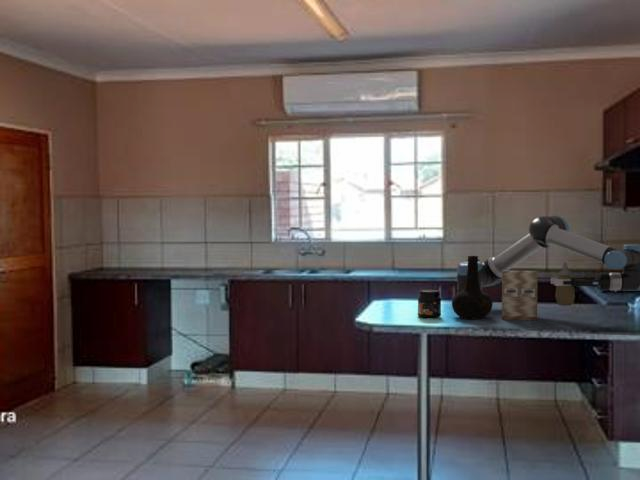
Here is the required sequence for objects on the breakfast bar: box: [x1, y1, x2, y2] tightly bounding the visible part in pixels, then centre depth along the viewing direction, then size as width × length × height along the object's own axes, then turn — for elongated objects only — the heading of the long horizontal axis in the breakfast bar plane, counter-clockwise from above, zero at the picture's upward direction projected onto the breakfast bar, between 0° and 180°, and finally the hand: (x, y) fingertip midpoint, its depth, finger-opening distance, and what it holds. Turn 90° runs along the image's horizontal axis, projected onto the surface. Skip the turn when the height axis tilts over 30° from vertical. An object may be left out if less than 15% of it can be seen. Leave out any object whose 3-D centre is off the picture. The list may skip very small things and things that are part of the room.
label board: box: [501, 270, 538, 321], centre depth 334 cm, size 15×6×22 cm, turn 77°
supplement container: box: [417, 289, 442, 319], centre depth 342 cm, size 10×10×12 cm
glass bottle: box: [451, 255, 494, 320], centre depth 339 cm, size 18×18×28 cm
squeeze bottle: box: [554, 262, 576, 307], centre depth 321 cm, size 8×8×18 cm
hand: (552, 281), depth 321 cm, fingers closed on squeeze bottle, 6 cm apart
